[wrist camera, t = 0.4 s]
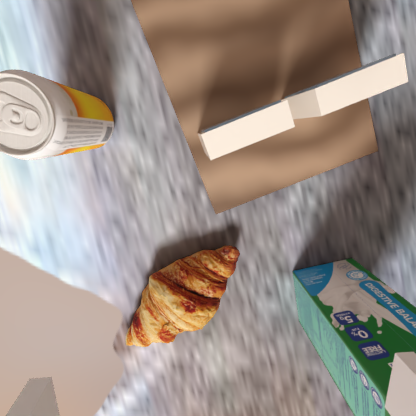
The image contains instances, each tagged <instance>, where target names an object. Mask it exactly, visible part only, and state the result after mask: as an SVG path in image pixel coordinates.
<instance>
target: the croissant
mask: <svg viewBox="0 0 416 416" xmlns="http://www.w3.org/2000/svg"><path fill="white" fill-rule="evenodd" d="M239 255H240V253H239V251H238V249H237V248H236V247H232V246H230V245H229V246H226V245H225V246H223V247H221V248H218V249H216V250H202V251H200V252H196V253H195V254H193V255H191V256H188V257H185V258H183V259H178V260H176V261H175V262H173V263H172V264H170V265H168V266H167V267H165V268H163V269H161V270H159V271H158V272H156V273H153V274H152V275H151V276H150V277H149V284H148V285H147V286H146V288H145V289H144V290H143V292H142V300H141V305H140V307H139V308H138V309H137V311H136V312H135V314H134V318H133V321H132V324H131V326H130V328H129V330H128V331H127V334H126V345H129V346H131V345H136V346H142V347H147V346H149V345H150V344H151V343H152V342H156V343H157V342H162V343H169V342H173V341H174V339H175V337H176V335H177V334H178V333H182V332H183V331H195V330H198V329H202V328H203V327H204V325H206V324H207V323H208V322H209V321H210V320H211V318H212V317H213V316H214V314H215V313H216V311H217V309H218V308H219V304H220V299H221V296H222V295H223V293H224V292H225V290H226V285H227V279H228V278H229V277H230V276H231V275H232V274H233V273H234V271H235V268H236V262H237V260H238V257H239Z"/></svg>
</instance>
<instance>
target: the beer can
mask: <svg viewBox="0 0 416 416" xmlns="http://www.w3.org/2000/svg"><path fill="white" fill-rule="evenodd" d="M113 129H114V120H113V116H112V113H111V111H110V109H109V108H108V107H107V105H106V104H105V103H104V102H103V101H101V100H100V99H98V98H97V97H94V96H92V95H89V94H86V93H84V92H81V91H78V90H76V89H73V88H70V87H67V86H65V85H62V84H59V83H57V82H54V81H51V80H49V79H46V78H43V77H41V76H38V75H35V74H32V73H30V72H27V71H22V70H5V71H2V72H0V151H1V152H3V153H6V154H7V155H10V156H12V157H15V158H18V159H23V160H36V159H42V158H47V157H52V156H58V155H63V154H68V153H74V152H79V151H84V150H90V149H95V148H99V147H101V146H103V145H104V144H106V143H107V142H108V140H109V139H110V138H111V136H112V133H113Z"/></svg>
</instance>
